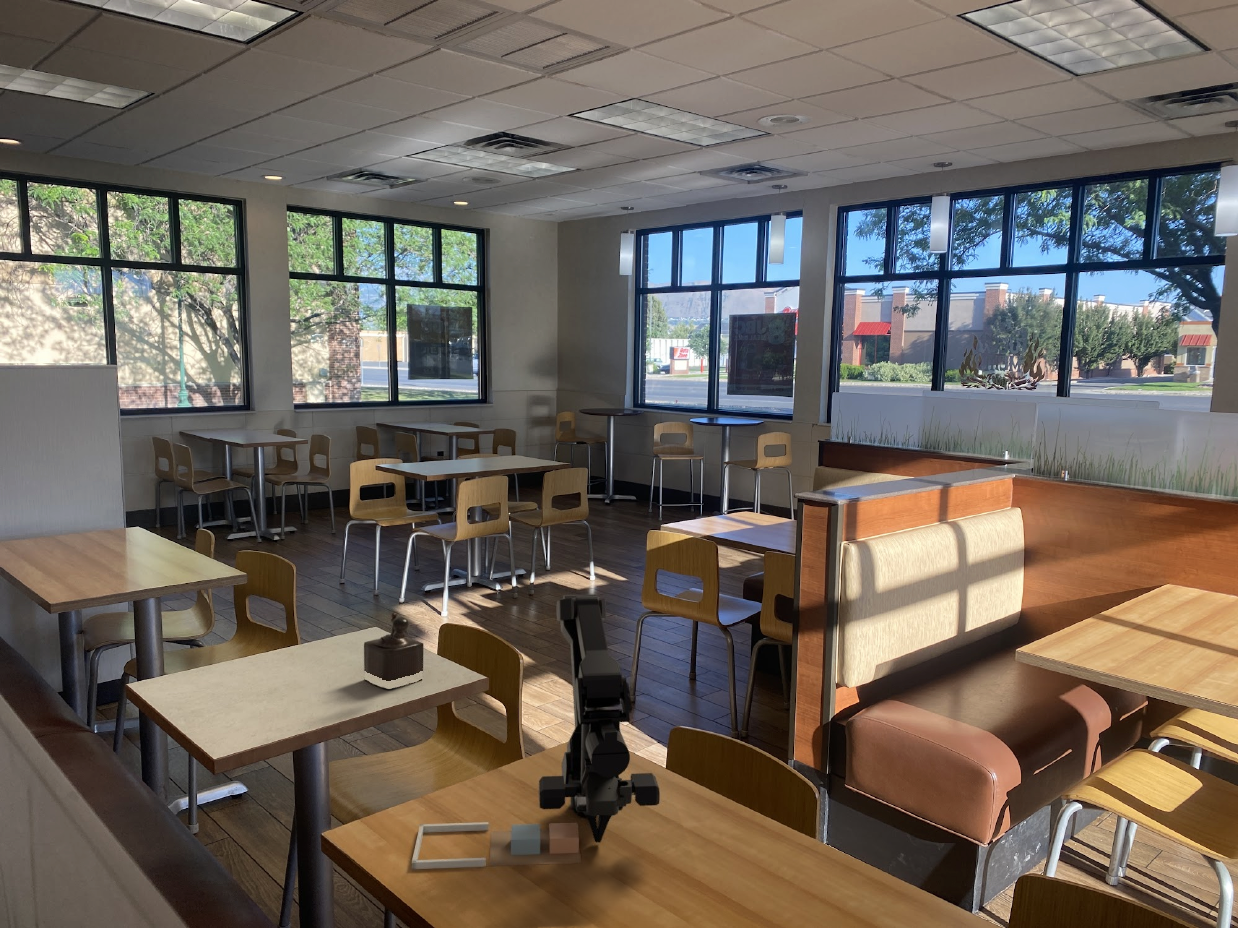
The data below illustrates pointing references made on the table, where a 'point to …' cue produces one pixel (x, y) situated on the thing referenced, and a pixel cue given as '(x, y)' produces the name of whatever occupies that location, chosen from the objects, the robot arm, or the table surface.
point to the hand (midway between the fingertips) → (597, 841)
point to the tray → (447, 862)
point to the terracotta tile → (563, 838)
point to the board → (503, 857)
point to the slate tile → (525, 839)
